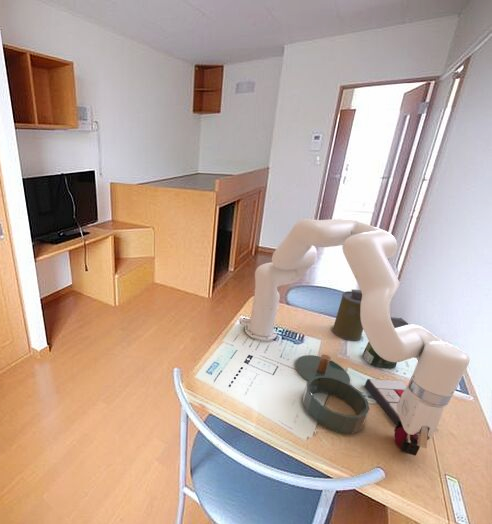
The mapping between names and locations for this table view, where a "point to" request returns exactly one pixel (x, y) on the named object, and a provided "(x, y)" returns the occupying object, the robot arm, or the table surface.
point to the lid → (320, 368)
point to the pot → (329, 417)
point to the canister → (349, 316)
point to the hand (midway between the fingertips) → (404, 442)
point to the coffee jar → (373, 357)
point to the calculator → (386, 395)
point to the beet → (401, 436)
